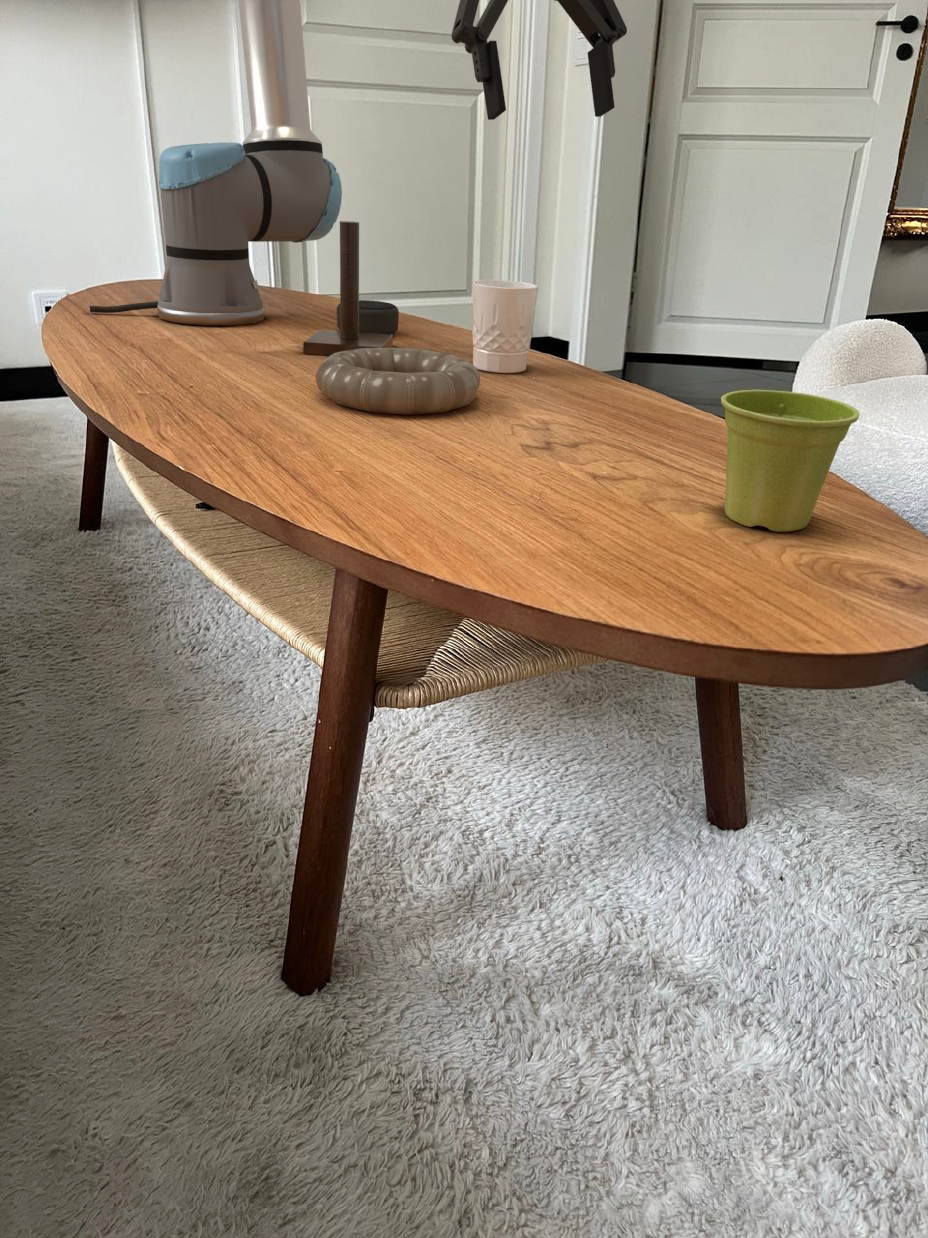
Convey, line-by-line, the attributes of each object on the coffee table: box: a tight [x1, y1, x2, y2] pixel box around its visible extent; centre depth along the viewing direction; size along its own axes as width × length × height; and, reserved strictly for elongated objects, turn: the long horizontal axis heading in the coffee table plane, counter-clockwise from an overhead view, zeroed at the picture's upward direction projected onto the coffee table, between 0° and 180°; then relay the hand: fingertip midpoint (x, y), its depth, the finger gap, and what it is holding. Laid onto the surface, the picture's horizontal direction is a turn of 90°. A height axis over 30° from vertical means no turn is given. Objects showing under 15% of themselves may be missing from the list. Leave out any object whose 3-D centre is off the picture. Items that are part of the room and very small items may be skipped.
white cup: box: [471, 279, 539, 374], centre depth 111 cm, size 8×8×10 cm
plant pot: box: [720, 389, 860, 533], centre depth 66 cm, size 9×9×9 cm
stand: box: [302, 220, 394, 357], centre depth 115 cm, size 10×10×16 cm
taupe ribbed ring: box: [315, 346, 481, 416], centre depth 95 cm, size 17×17×4 cm
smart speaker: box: [336, 299, 400, 335], centre depth 130 cm, size 9×9×4 cm
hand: (552, 113), depth 97 cm, fingers open, 13 cm apart
